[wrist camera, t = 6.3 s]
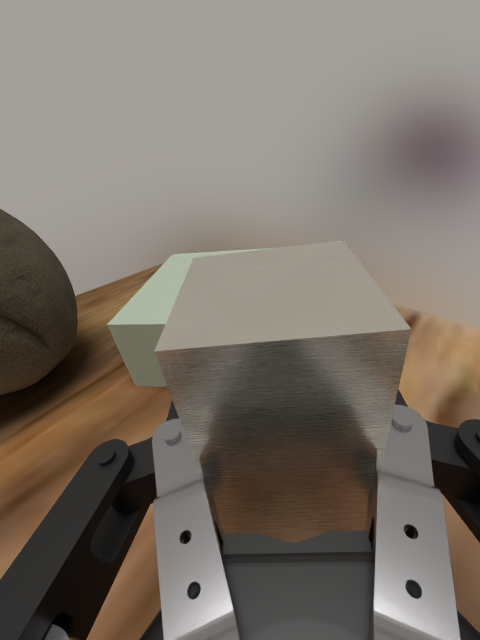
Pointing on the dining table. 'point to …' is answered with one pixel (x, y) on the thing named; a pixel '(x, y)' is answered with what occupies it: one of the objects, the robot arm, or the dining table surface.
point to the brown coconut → (31, 307)
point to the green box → (151, 318)
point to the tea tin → (285, 384)
